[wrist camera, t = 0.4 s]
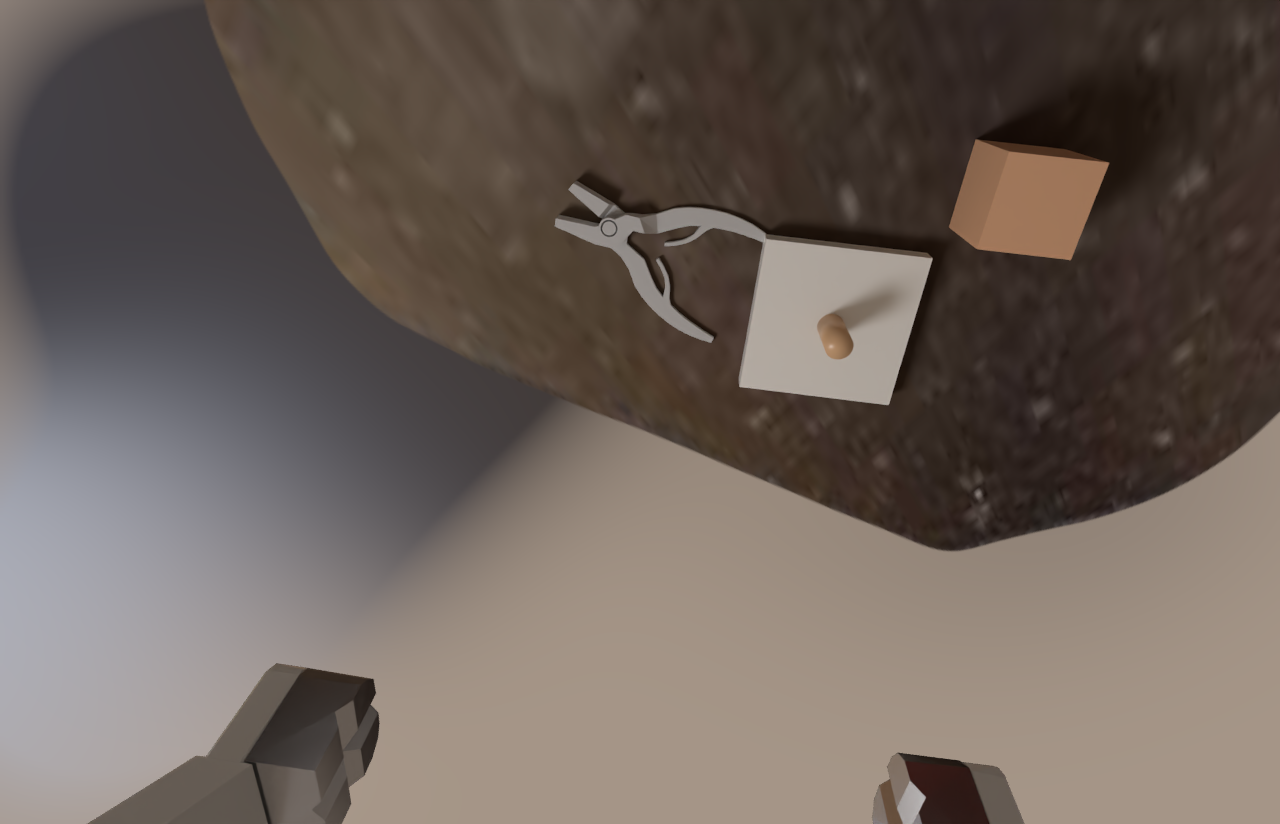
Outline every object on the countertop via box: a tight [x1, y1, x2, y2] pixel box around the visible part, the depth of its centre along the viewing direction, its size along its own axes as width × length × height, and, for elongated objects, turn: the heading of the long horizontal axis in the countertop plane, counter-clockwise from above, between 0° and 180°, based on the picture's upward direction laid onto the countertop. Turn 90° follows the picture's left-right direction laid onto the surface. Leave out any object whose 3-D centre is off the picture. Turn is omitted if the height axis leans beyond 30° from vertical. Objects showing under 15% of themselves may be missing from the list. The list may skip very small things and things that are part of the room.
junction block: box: [739, 234, 933, 405], centre depth 52 cm, size 12×12×6 cm
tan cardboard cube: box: [949, 139, 1109, 260], centre depth 46 cm, size 6×6×6 cm
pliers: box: [555, 181, 767, 343], centre depth 52 cm, size 10×2×15 cm
